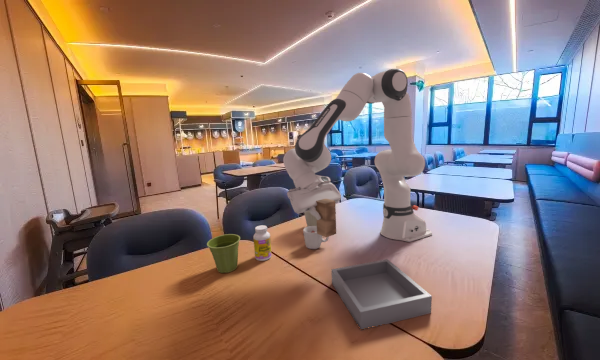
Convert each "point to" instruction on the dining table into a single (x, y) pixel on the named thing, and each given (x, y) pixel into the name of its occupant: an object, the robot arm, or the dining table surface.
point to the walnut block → (326, 217)
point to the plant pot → (225, 252)
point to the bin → (380, 293)
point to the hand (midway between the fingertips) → (327, 216)
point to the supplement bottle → (262, 243)
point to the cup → (313, 237)
